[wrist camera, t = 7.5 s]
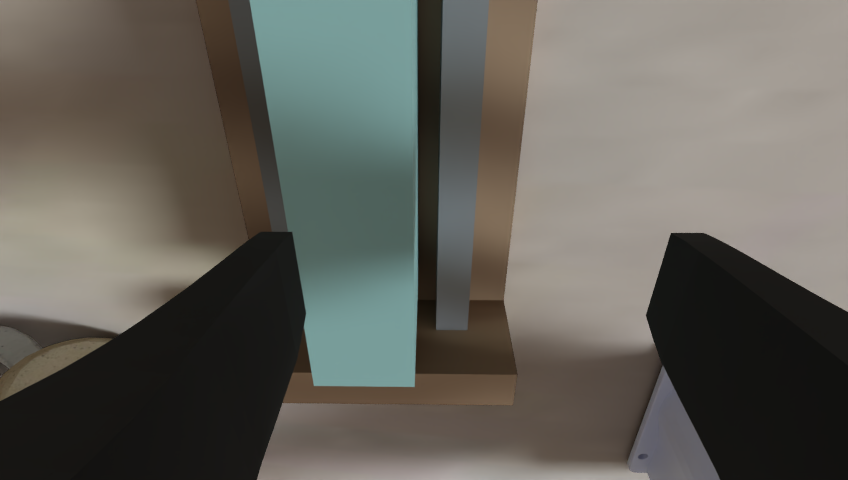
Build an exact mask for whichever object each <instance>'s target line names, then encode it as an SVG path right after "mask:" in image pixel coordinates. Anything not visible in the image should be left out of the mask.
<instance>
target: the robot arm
mask: <svg viewBox="0 0 848 480" xmlns="http://www.w3.org/2000/svg"><path fill="white" fill-rule="evenodd" d="M646 317H647V320H648V324H649V327H650V330H651V333H652V337H653V340H654V343H655V345H656V348H657V351H658V354H659V357H660V360H661V362H662V364H663V366H662V369H661V372H660V374H659V377H658V380H657V382H656V385H655V388H654V391H653V393H652V396H651V399H650V401H649V404H648V407H647V410H646V412H645V415H644V418H643V420H642V423H641V426H640V429H639V431H638V434H637V437H636V440H635V442H634V445H633V448H632V450H631V453H630V456H629V459H628V461H627V464H628V467H629V469H630V471H632V472H637V473H648V476H649V478H650V480H848V312H847V311H845V310H843V309H841V308H839V307H838V306H836V305H834V304H832V303H830V302H828V301H827V300H825V299H823V298H821V297H819V296H818V295H816V294H814V293H812V292H810V291H809V290H807V289H805V288H803V287H801V286H800V285H798V284H796V283H794V282H793V281H791V280H789V279H787V278H786V277H784V276H782V275H780V274H779V273H777V272H775V271H774V270H772V269H770V268H768V267H767V266H765V265H763V264H761V263H760V262H758V261H756V260H754V259H753V258H751V257H749V256H747V255H746V254H744V253H742V252H740V251H738V250H737V249H735V248H733V247H731V246H729V245H727V244H726V243H724V242H722V241H720V240H718V239H716V238H714V237H711V236H709V235H707V234H705V233H671V235H670V238H669V242H668V245H667V248H666V251H665V255H664V258H663V261H662V265H661V268H660V271H659V274H658V278H657V281H656V284H655V287H654V291H653V294H652V297H651V301H650V304H649V307H648V310H647V314H646ZM305 318H306V309H305V304H304V298H303V292H302V286H301V280H300V274H299V269H298V263H297V257H296V251H295V245H294V239H293V234H292V232H260V233H258V234H257V235H255V236H254V237H252V238H251V239H250V240H248V241H247V242H246V243H244V244H243V245H242V246H240V247H239V248H238V249H237V250H235V251H234V252H233V253H231V254H230V255H229V256H228V257H226V258H225V259H224V260H223V261H221V262H220V263H219V264H218V265H216V266H215V267H214V268H212V269H211V270H210V271H208V272H207V273H206V274H205V275H203V276H202V277H201V278H199V279H198V280H197V281H195V282H194V283H193V284H192V285H190V286H189V287H188V288H186V289H185V290H184V291H182V292H181V293H179V294H178V295H177V296H175V297H174V298H172V299H171V300H170V301H168V302H167V303H165V304H164V305H162V306H161V307H160V308H158V309H157V310H155V311H154V312H152V313H151V314H150V315H148V316H147V317H145V318H144V319H143V320H141V321H140V322H138V323H137V324H135V325H134V326H132V327H131V328H129V329H128V330H126V331H125V332H123V333H122V334H120V335H118V336H117V337H115V338H114V339H112V340H110V341H109V342H107V343H106V344H104V345H102V346H101V347H99V348H97V349H95V350H94V351H92V352H90V353H89V354H87V355H85V356H84V357H82V358H80V359H79V360H77V361H75V362H73V363H72V364H70V365H68V366H66V367H65V368H63V369H61V370H59V371H57V372H55V373H53V374H52V375H50V376H48V377H46V378H44V379H42V380H40V381H38V382H36V383H34V384H32V385H30V386H28V387H26V388H24V389H22V390H21V391H19V392H17V393H15V394H13V395H11V396H9V397H7V398H5V399H3V400H1V401H0V480H257V477H258V473H259V470H260V467H261V463H262V460H263V458H264V455H265V452H266V449H267V446H268V443H269V440H270V437H271V434H272V432H273V429H274V426H275V423H276V420H277V417H278V414H279V411H280V408H281V406H282V403H283V400H284V397H285V394H286V391H287V388H288V385H289V382H290V379H291V376H292V373H293V370H294V367H295V364H296V361H297V358H298V353H299V348H300V344H301V339H302V334H303V328H304V323H305Z"/></svg>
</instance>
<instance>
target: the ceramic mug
mask: <svg viewBox="0 0 848 480" xmlns="http://www.w3.org/2000/svg"><path fill="white" fill-rule="evenodd" d="M110 340H112V339H110V338H81V339H72V340H68V341H64V342H60V343H57V344H53V345H49V346H47V347H45V348H42V347H41V346H40V344H39V343H37V342H36V341H35V340H34V339H32V338H31V337H30V336H28V335H26V334H24V333H22V332H20V331H18V330H15V329H14V328H12V327H6V326H0V362H1V363H2V364H3V365H5V366H6V367H7V368H8V369H9V370H8V371H7V372H5V373H4V375H3V376H2V377H1V378H0V401H1V400H3V399H5V398H7V397H9V396H11V395H13V394H15V393H17V392H19V391H21V390H22V389H24V388H26V387H28V386H30V385H32V384H34V383H36V382H38V381H40V380H42V379H44V378H46V377H48V376H50V375H52V374H53V373H55V372H57V371H59V370H61V369H63V368H65V367H66V366H68V365H70V364H72V363H73V362H75V361H77V360H79V359H80V358H82V357H84V356H85V355H87V354H89V353H90V352H92V351H94V350H95V349H97V348H99V347H101V346H102V345H104V344H106V343H107V342H109V341H110Z"/></svg>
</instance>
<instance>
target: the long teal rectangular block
mask: <svg viewBox="0 0 848 480" xmlns="http://www.w3.org/2000/svg"><path fill="white" fill-rule="evenodd" d="M250 6H251V12H252V18H253V24H254V30H255V36H256V42H257V48H258V54H259V60H260V66H261V72H262V78H263V84H264V90H265V96H266V102H267V108H268V114H269V120H270V126H271V132H272V138H273V144H274V150H275V156H276V162H277V168H278V174H279V180H280V186H281V192H282V198H283V204H284V210H285V216H286V222H287V228H288V232H292V234H293V239H294V245H295V251H296V257H297V263H298V269H299V274H300V280H301V286H302V292H303V298H304V304H305V309H306V318H305V323H304V330H305V336H306V342H307V348H308V354H309V360H310V366H311V372H312V378H313V384H314V386H370V387H415V362H416V331H417V300H418V269H419V240H418V0H250Z"/></svg>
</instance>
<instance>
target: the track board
mask: <svg viewBox="0 0 848 480" xmlns="http://www.w3.org/2000/svg"><path fill="white" fill-rule="evenodd" d="M537 1H538V0H418V240H419V269H418V300H417V331H416V362H415V387H370V386H314V384H313V378H312V372H311V366H310V360H309V354H308V348H307V342H306V336H305V330H304V328H303V334H302V339H301V344H300V348H299V353H298V358H297V361H296V364H295V367H294V370H293V373H292V376H291V379H290V382H289V385H288V388H287V391H286V394H285V397H284V400H283V403H340V404H440V405H513V401H514V394H515V387H516V381H517V370H516V365H515V359H514V354H513V349H512V343H511V338H510V333H509V327H508V322H507V317H506V311H505V306H504V292H505V283H506V274H507V265H508V256H509V248H510V239H511V230H512V221H513V212H514V203H515V195H516V186H517V177H518V168H519V159H520V151H521V142H522V133H523V124H524V115H525V106H526V98H527V89H528V80H529V71H530V62H531V54H532V45H533V36H534V27H535V18H536V10H537ZM196 3H197V7H198V12H199V16H200V21H201V25H202V30H203V34H204V39H205V43H206V48H207V52H208V57H209V61H210V66H211V70H212V75H213V80H214V84H215V89H216V93H217V98H218V102H219V107H220V111H221V116H222V120H223V125H224V129H225V134H226V138H227V143H228V147H229V152H230V156H231V161H232V165H233V170H234V175H235V179H236V184H237V188H238V193H239V197H240V202H241V206H242V211H243V215H244V220H245V224H246V229H247V233H248V238H249V240H250V239H251V238H252V237H254V236H255V235H257V234H258V233H260V232H288V228H287V222H286V216H285V210H284V204H283V198H282V192H281V186H280V180H279V174H278V168H277V162H276V156H275V150H274V144H273V138H272V132H271V126H270V120H269V114H268V108H267V102H266V96H265V90H264V84H263V78H262V72H261V66H260V60H259V54H258V48H257V42H256V36H255V30H254V24H253V18H252V12H251V6H250V0H196Z"/></svg>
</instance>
